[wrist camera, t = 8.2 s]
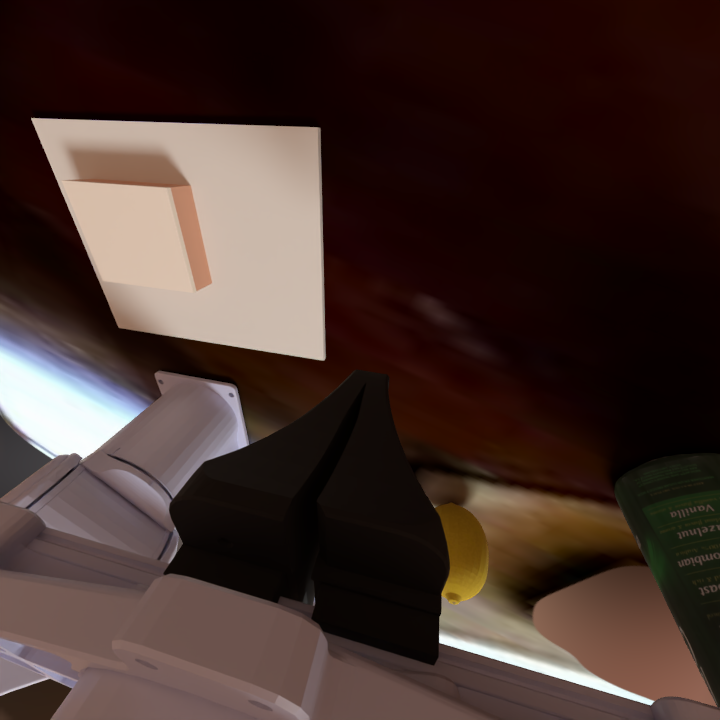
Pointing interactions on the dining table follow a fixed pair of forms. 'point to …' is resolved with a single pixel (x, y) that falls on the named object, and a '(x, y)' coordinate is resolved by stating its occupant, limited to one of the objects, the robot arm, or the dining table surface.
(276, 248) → the mat
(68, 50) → the dining table surface
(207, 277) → the tile
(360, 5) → the dining table surface
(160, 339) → the dining table surface
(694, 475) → the coffee jar
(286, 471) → the robot arm
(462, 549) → the lemon
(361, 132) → the dining table surface
